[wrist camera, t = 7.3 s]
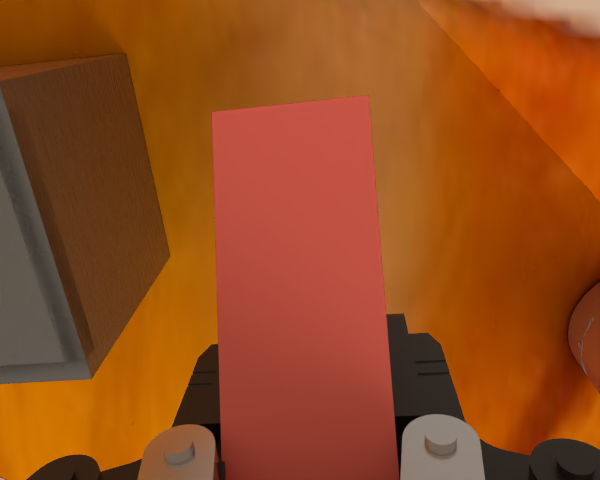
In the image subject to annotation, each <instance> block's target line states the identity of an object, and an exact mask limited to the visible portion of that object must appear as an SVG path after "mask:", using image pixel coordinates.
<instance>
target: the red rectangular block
mask: <svg viewBox="0 0 600 480" xmlns="http://www.w3.org/2000/svg"><path fill="white" fill-rule="evenodd" d="M212 133H213V169H214V205H215V242H216V278H217V314H218V351H219V387H220V423H221V459H222V461H225V471H226V480H400V479H399V467H398V454H397V442H396V430H395V417H394V405H393V392H392V380H391V368H390V355H389V343H388V331H387V318H386V306H385V294H384V281H383V269H382V256H381V244H380V232H379V219H378V207H377V195H376V182H375V170H374V158H373V145H372V133H371V120H370V108H369V96H368V95H365V96H356V97H347V98H337V99H328V100H319V101H309V102H300V103H291V104H281V105H272V106H263V107H253V108H244V109H235V110H225V111H216V112H212Z"/></svg>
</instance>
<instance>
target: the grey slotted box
mask: <svg viewBox="0 0 600 480" xmlns="http://www.w3.org/2000/svg"><path fill="white" fill-rule="evenodd" d="M169 257H170V253H169V248H168V244H167V239H166V234H165V230H164V225H163V221H162V216H161V212H160V207H159V202H158V198H157V193H156V189H155V184H154V180H153V175H152V170H151V166H150V161H149V157H148V152H147V148H146V143H145V138H144V134H143V129H142V125H141V120H140V116H139V111H138V106H137V102H136V97H135V93H134V88H133V83H132V79H131V74H130V70H129V65H128V61H127V56H126V53H123V54H113V55H104V56H95V57H86V58H76V59H67V60H58V61H49V62H40V63H30V64H21V65H12V66H3V67H0V384H9V383H27V382H46V381H64V380H83V379H92V378H93V376H94V375H95V373H96V371H97V370H98V368H99V367H100V365H101V364H102V362H103V360H104V359H105V357H106V356H107V354H108V353H109V351H110V350H111V348H112V346H113V345H114V343H115V342H116V340H117V339H118V337H119V336H120V334H121V332H122V331H123V329H124V328H125V326H126V325H127V323H128V321H129V320H130V318H131V317H132V315H133V314H134V312H135V311H136V309H137V307H138V306H139V304H140V303H141V301H142V300H143V298H144V296H145V295H146V293H147V292H148V290H149V289H150V287H151V286H152V284H153V282H154V281H155V279H156V278H157V276H158V275H159V273H160V271H161V270H162V268H163V267H164V265H165V264H166V262H167V261H168V259H169Z"/></svg>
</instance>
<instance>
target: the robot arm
mask: <svg viewBox="0 0 600 480" xmlns="http://www.w3.org/2000/svg"><path fill="white" fill-rule="evenodd" d="M386 318H387V331H388V343H389V355H390V368H391V380H392V392H393V405H394V417H395V430H396V442H397V454H398V467H399V479H400V480H600V450H599V449H597V448H595V447H593V446H591V445H589V444H586V443H584V442H580V441H577V440H572V439H551V440H547V441H544V442H542V443H540V444H539V445H537V446H536V447H535V448H534V450H533V451H532V453H531V456H529V455H524V454H520V453H515V452H510V451H506V450H502V449H499V448H496V447H493V446H491V445H489V444H487V443H485V442H484V441H482V440H481V439H479V437H478V435H477V433H476V432H475V431H474V429H473V428H472V427H471V426H470V425H468V424H467V423H466V422H465V419H464V416H463V413H462V410H461V407H460V404H459V400H458V397H457V394H456V391H455V388H454V385H453V382H452V379H451V375H450V374H449V369H448V366H447V363H446V360H445V357H444V354H443V351H442V347H441V345H440V344H439V343H438V342H437V341H436V340H435V339H434V338H433V337H432V336H430V335H429V334H428V333H417V334H408V330H407V326H406V321H405V317H404V314H386ZM568 342H569V345H570V349H571V352H572V354H573V355H574V357H575V358H576V360H577V361H578V363H579V364H580V366H581V368H582V370H583V371H584V373H585V374H587V376H588V377H589V379H590V380H591V381H592V383H593V384H594V386H595V387H596V389H597V390H598V392H599V393H600V282H599V283H597V284H596V285H595V286H594V287H593V288H592V289H590V290H589V291H588V292H587V293H586V294H585V295H584V297H583V298H582V299H581V301H580V302H579V303H578V304H577V306H576V308H575V310H574V312H573V314H572V316H571V319H570V323H569V328H568ZM27 480H226V471H225V461H222V459H221V423H220V387H219V351H218V344H213V345H211V346H210V347H209V348H208V349H207V350H206V351H205V352H204V353H203V354H202V355H201V356H200V357H199V358H198V360H197V363H196V366H195V368H194V371H193V375H192V376H191V378H190V381H189V384H188V387H187V389H186V391H185V394H184V397H183V399H182V402H181V404H180V407H179V410H178V412H177V415H176V417H175V420H174V423H173V425H172V428H170V429H168V430H165V431H164V432H162V433H160V434H159V435H158V436H156V437H155V438H154V439H153V440H152V441H151V442H150V443H149V444H148V446H147V447H146V449H145V451H144V454H143V457H142V459H140V460H138V461H135V462H132V463H130V464H126V465H123V466H119V467H116V468H112V469H109V470H106V471H102V472H100V469H99V466H98V464H97V462H96V461H95V460H94V459H93V458H91V457H89V456H86V455H70V456H65V457H62V458H59V459H56V460H54V461H52V462H50V463H48V464H46V465H45V466H43V467H41V468H40V469H39V470H38V471H36V472H35V473H34V474H33V475H31V476H30V477H29V478H28V479H27Z"/></svg>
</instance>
